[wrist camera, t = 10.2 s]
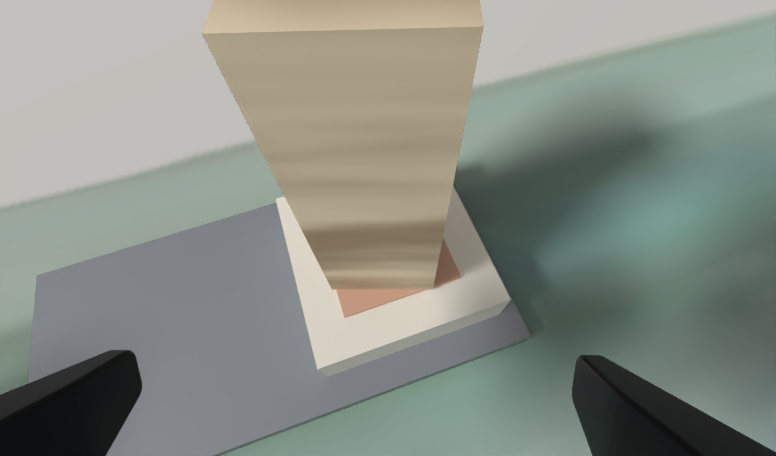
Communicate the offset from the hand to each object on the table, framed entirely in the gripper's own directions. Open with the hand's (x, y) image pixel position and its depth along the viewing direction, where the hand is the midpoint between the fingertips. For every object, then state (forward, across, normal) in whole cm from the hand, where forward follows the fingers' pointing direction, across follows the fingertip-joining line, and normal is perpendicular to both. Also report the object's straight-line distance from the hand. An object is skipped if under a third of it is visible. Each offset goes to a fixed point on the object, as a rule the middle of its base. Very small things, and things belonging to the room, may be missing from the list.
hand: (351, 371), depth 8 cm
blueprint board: (+12, +6, +5) cm, 15 cm away
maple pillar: (+11, 0, +1) cm, 11 cm away
